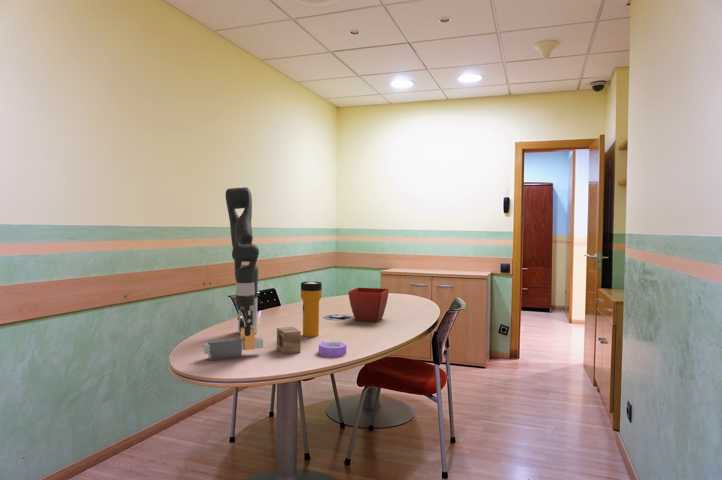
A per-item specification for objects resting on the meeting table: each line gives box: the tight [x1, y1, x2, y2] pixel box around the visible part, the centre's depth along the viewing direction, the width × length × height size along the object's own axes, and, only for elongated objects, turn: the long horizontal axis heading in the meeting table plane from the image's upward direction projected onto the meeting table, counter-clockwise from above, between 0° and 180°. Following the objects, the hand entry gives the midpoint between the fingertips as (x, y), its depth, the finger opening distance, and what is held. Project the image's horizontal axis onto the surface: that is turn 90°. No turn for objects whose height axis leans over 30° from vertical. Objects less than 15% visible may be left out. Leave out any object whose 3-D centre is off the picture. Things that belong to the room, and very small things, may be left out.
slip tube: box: [203, 327, 264, 355], centre depth 200 cm, size 6×23×8 cm, turn 118°
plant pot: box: [348, 287, 390, 323], centre depth 282 cm, size 19×19×17 cm
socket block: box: [276, 326, 302, 355], centre depth 210 cm, size 10×7×9 cm
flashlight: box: [300, 281, 323, 338], centre depth 240 cm, size 10×26×10 cm
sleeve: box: [207, 336, 243, 362], centre depth 198 cm, size 5×12×7 cm, turn 118°
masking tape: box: [318, 340, 348, 358], centre depth 208 cm, size 12×12×4 cm
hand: (244, 333), depth 201 cm, fingers open, 8 cm apart
